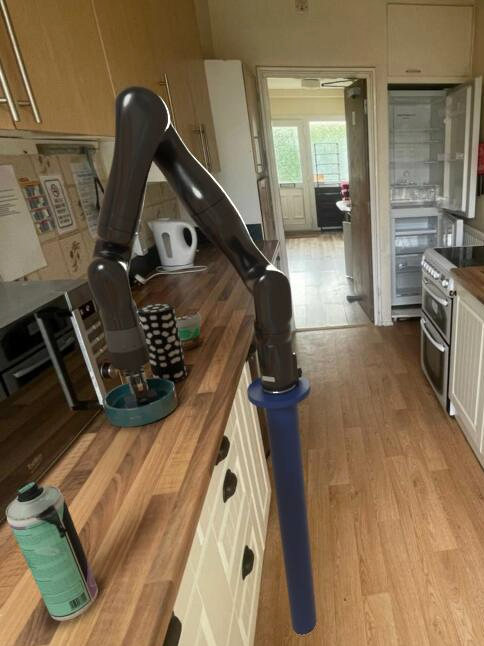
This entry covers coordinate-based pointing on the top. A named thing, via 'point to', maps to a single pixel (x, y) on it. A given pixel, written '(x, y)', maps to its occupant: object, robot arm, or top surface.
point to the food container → (189, 330)
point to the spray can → (52, 550)
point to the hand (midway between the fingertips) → (144, 410)
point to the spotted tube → (163, 341)
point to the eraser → (131, 398)
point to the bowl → (143, 414)
